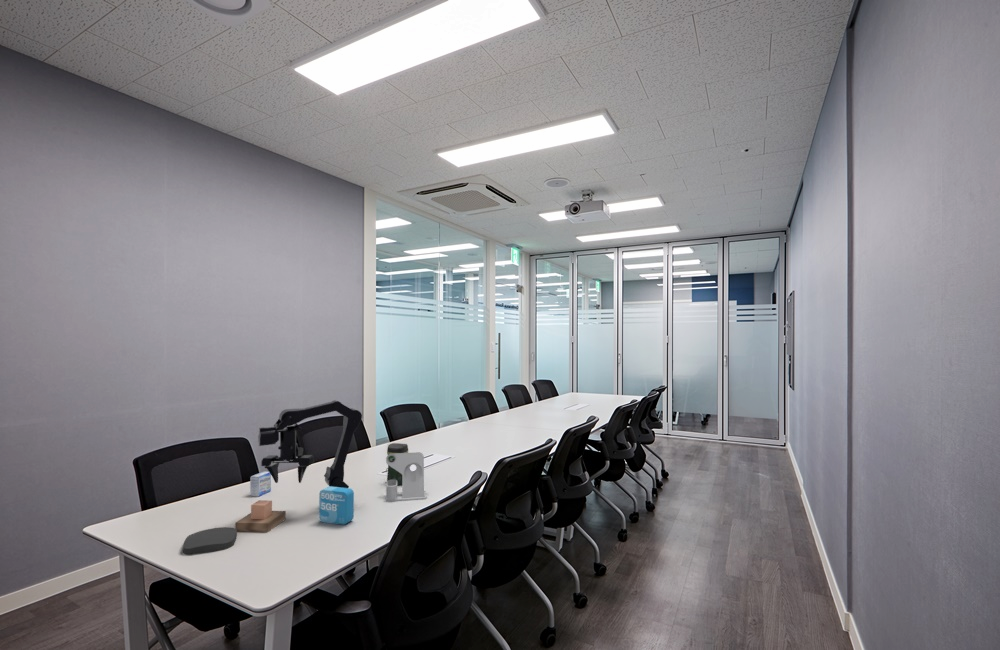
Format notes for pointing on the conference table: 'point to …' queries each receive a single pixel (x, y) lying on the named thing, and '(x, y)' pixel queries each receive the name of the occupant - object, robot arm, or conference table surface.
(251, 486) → the medicine box
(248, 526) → the walnut block
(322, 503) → the data package
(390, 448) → the coffee jar
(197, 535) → the media streaming box
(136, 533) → the conference table surface
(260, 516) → the terracotta block
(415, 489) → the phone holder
